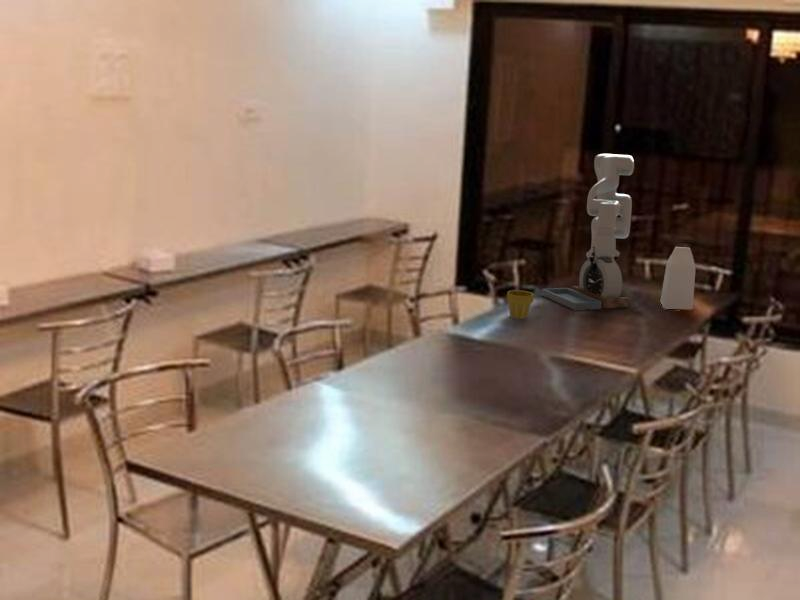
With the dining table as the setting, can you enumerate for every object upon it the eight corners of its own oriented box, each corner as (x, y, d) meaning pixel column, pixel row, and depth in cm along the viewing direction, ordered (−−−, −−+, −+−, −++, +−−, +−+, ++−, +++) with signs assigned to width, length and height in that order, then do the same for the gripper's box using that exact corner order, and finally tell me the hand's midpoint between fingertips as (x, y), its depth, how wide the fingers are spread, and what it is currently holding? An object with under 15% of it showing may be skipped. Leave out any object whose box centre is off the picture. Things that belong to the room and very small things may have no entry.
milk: (688, 305, 462) (695, 246, 456) (692, 311, 451) (699, 250, 445) (660, 303, 463) (666, 244, 457) (663, 309, 452) (670, 248, 446)
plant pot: (528, 321, 418) (530, 297, 416) (502, 318, 421) (504, 293, 419) (534, 315, 428) (536, 292, 426) (508, 312, 431) (510, 288, 429)
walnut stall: (594, 293, 475) (595, 285, 474) (627, 306, 452) (628, 297, 451) (571, 294, 470) (572, 286, 469) (603, 308, 448) (603, 298, 447)
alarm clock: (577, 295, 469) (581, 251, 464) (591, 294, 472) (595, 250, 468) (606, 306, 450) (610, 260, 446) (620, 306, 453) (625, 260, 449)
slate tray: (567, 294, 470) (567, 287, 470) (601, 308, 446) (601, 301, 445) (541, 295, 465) (542, 288, 464) (574, 310, 441) (575, 303, 440)
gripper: (617, 229, 461) (613, 269, 465) (583, 229, 454) (579, 270, 458) (627, 232, 454) (623, 272, 458) (592, 232, 447) (588, 274, 451)
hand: (601, 271), depth 458 cm, fingers closed on alarm clock, 7 cm apart
